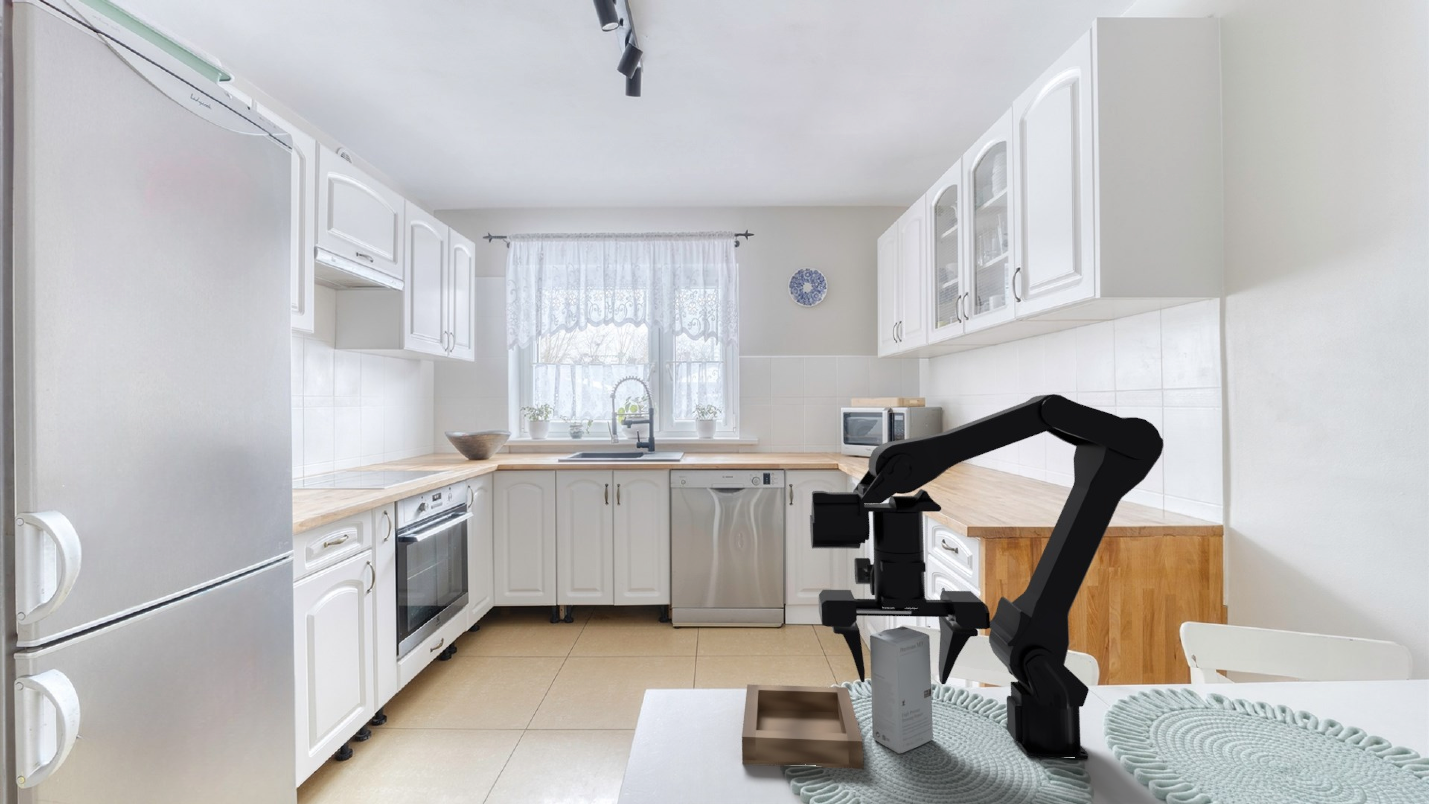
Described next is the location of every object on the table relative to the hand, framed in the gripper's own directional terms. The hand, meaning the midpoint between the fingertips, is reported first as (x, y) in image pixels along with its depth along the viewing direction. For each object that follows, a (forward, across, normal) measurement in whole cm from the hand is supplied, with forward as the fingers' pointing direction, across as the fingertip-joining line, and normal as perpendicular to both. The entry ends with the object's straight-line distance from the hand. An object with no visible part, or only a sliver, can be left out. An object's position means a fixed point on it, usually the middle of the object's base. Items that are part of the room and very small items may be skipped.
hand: (902, 681), depth 70 cm
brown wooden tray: (+7, +12, 0) cm, 14 cm away
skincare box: (+7, 0, 0) cm, 7 cm away
